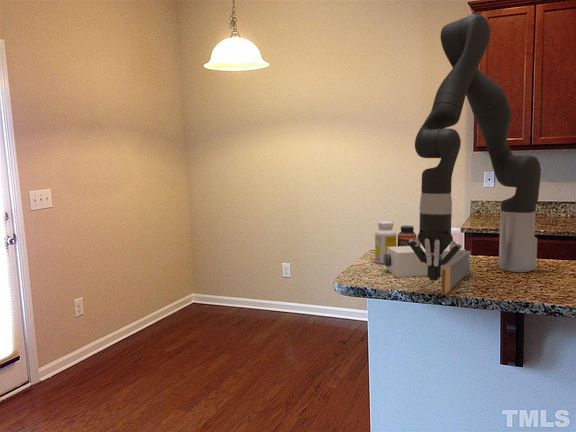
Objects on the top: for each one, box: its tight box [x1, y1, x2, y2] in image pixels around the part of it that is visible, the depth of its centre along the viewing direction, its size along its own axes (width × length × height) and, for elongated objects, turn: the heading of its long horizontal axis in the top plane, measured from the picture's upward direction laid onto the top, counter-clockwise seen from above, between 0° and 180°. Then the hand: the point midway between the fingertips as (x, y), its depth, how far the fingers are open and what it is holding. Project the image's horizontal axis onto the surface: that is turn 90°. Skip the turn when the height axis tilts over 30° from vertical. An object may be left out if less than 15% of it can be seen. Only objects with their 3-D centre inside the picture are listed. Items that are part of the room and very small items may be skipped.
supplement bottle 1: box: [374, 220, 397, 265], centre depth 160 cm, size 7×7×13 cm
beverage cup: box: [451, 216, 461, 245], centre depth 168 cm, size 6×6×14 cm
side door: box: [441, 250, 471, 295], centre depth 133 cm, size 26×1×6 cm, turn 148°
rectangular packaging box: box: [383, 244, 466, 278], centre depth 147 cm, size 21×9×8 cm, turn 97°
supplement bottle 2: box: [397, 225, 418, 247], centre depth 161 cm, size 6×6×11 cm
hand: (433, 279), depth 126 cm, fingers closed
